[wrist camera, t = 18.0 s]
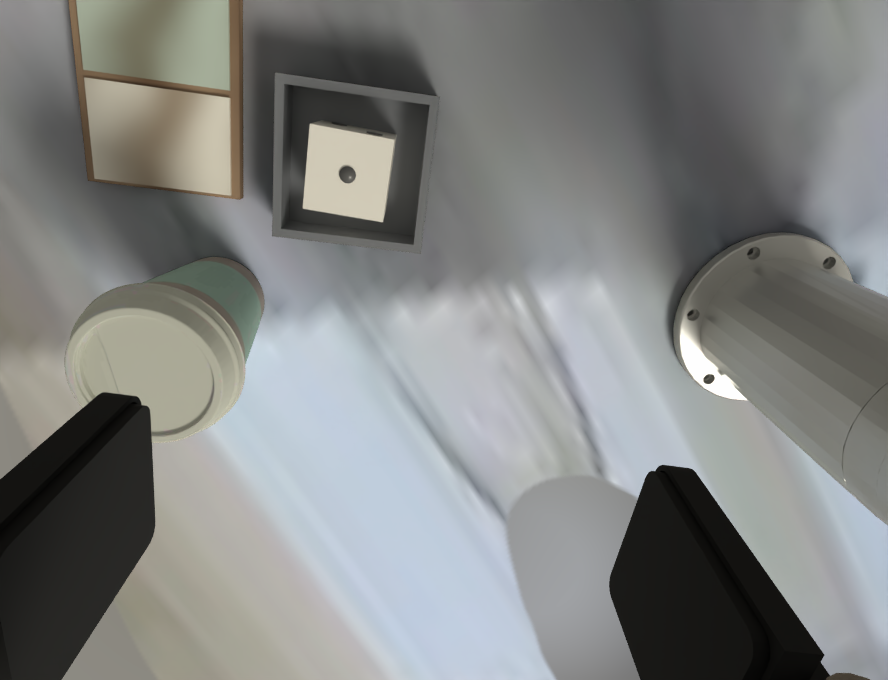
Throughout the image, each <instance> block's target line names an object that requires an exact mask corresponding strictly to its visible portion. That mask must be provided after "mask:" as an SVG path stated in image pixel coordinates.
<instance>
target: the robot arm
mask: <svg viewBox="0 0 888 680" xmlns="http://www.w3.org/2000/svg"><path fill="white" fill-rule="evenodd" d="M748 251H749V252H748ZM690 310H691V311H690ZM689 311H690V312H689ZM688 312H689V313H688ZM673 334H674V346H675V350H676V354H677V357H678V359H679V361H680V363H681V365H682V367H683V368H684V370H685V371H686V372H687V373H688V374H689V375H690V377H691V378H692V379H693V380H694V381H695V382H696V383H697V384H698V385H699V386H701V387H702V388H703V389H705V390H707V391H709V392H711V393H713V394H714V395H717V396H720V397H724V398H727V399H734V400H748V401H749V402H751V403H752V404H753V405H754V406H755V407H756V408H757V409H758V410H759V411H760V412H762V413H763V414H764V415H765V416H766V417H767V418H768V419H769V420H770V421H771V422H772V423H774V424H775V425H776V426H777V427H778V428H779V429H780V430H781V431H782V432H783V433H785V434H786V435H787V436H788V437H789V438H790V439H791V440H792V441H793V442H794V443H795V444H797V445H798V446H799V447H800V448H801V449H802V450H803V451H804V452H805V453H806V454H808V455H809V456H810V457H811V458H812V459H813V460H814V461H815V462H816V463H817V464H818V465H820V466H821V467H822V468H823V469H824V470H825V471H826V472H827V473H828V474H829V475H830V476H832V477H833V478H834V479H835V480H836V481H837V482H838V483H839V484H840V485H842V486H843V487H844V488H845V489H846V490H847V491H848V492H849V493H851V494H852V495H853V496H854V497H855V498H856V499H857V500H858V501H859V502H861V503H862V504H863V505H864V506H865V507H866V508H867V509H868V510H869V511H871V512H872V513H873V514H874V515H875V516H876V517H878V518H879V519H880V520H882V521H883V522H884V523H885V524H887V525H888V297H887V296H885V295H882V294H880V293H877V292H875V291H873V290H870V289H868V288H866V287H863V286H861V285H859V284H856V283H854V282H853V279H852V276H851V273H850V271H849V268H848V267H847V265H846V264H845V262H844V261H843V259H842V258H841V256H840V255H838V254H837V253H836V252H835V251H834V250H833V249H832V248H830V247H829V246H827V245H825V244H823V243H821V242H819V241H817V240H816V239H813V238H810V237H806V236H803V235H800V234H793V233H786V232H780V233H766V234H762V235H758V236H754V237H750V238H747V239H745V240H743V241H741V242H738V243H736V244H734V245H732V246H730V247H729V248H727V249H725V250H724V251H722V252H721V253H719V254H718V255H716V256H715V257H714V258H713V259H712V260H710V261H709V262H708V263H707V264H706V265H705V266H704V267H703V268H702V269H701V270H700V271H699V272H698V274H697V275H696V276H695V277H694V278H693V280H692V281H691V282H690V284H689V286H688V287H687V289H686V291H685V292H684V294H683V296H682V298H681V301H680V303H679V306H678V309H677V311H676V315H675V321H674V327H673ZM154 529H155V505H154V482H153V459H152V436H151V414H150V409H149V407H148V406H145V405H142V404H141V401H140V399H139V398H138V397H137V396H131V395H124V394H116V393H108V392H102V393H100V394H99V395H97V396H96V397H95V398H94V399H93V400H92V401H90V402H89V403H88V404H87V405H86V406H85V407H83V408H82V409H81V410H80V411H79V412H78V413H77V414H75V415H74V416H73V417H72V418H71V419H70V420H68V421H67V422H66V423H65V424H64V425H63V426H62V427H60V428H59V429H58V430H57V431H56V432H55V433H53V434H52V435H51V436H50V437H49V438H48V439H47V440H45V441H44V442H43V443H42V444H41V445H40V446H38V447H37V448H36V449H35V450H34V451H33V452H31V453H30V454H29V455H28V456H27V457H26V458H25V459H24V460H22V461H21V462H20V463H19V464H18V465H17V466H15V467H14V468H13V469H12V470H11V471H10V472H8V473H7V474H6V475H5V476H4V477H3V478H1V479H0V680H61V679H62V678H63V677H64V675H65V673H66V672H67V670H68V669H69V667H70V666H71V664H72V663H73V661H74V659H75V658H76V656H77V655H78V654H79V652H80V650H81V649H82V647H83V646H84V644H85V643H86V641H87V640H88V638H89V637H90V635H91V633H92V632H93V630H94V629H95V627H96V626H97V624H98V623H99V621H100V619H101V618H102V616H103V615H104V613H105V612H106V610H107V609H108V607H109V606H110V604H111V603H112V601H113V600H114V598H115V596H116V595H117V593H118V592H119V590H120V589H121V587H122V586H123V584H124V583H125V581H126V579H127V578H128V576H129V575H130V573H131V572H132V570H133V569H134V567H135V566H136V564H137V562H138V561H139V559H140V558H141V556H142V555H143V553H144V552H145V550H146V549H147V547H148V545H149V544H150V542H151V539H152V537H153V534H154ZM609 587H610V594H611V598H612V600H613V603H614V606H615V609H616V612H617V615H618V618H619V621H620V623H621V626H622V629H623V632H624V635H625V637H626V640H627V643H628V645H629V648H630V651H631V654H632V657H633V659H634V663H635V665H636V668H637V671H638V674H639V676H640V679H641V680H870V679H868V678H865V677H861V676H858V675H855V674H851V673H835V674H833V675H831V676H830V675H829V674H828V672H827V671H826V669H825V668H824V666H823V665H822V664H821V660H822V658H823V657H824V654H823V652H822V651H821V649H820V648H819V647H818V645H817V644H816V642H815V641H814V640H813V638H812V637H811V635H810V634H809V632H808V631H807V630H806V628H805V627H804V625H803V624H802V623H801V621H800V620H799V618H798V617H797V615H796V614H795V613H794V611H793V610H792V608H791V607H790V606H789V604H788V603H787V601H786V600H785V598H784V597H783V596H782V594H781V593H780V591H779V590H778V589H777V587H776V586H775V584H774V583H773V581H772V580H771V579H770V577H769V576H768V574H767V573H766V572H765V570H764V569H763V567H762V566H761V564H760V563H759V562H758V560H757V559H756V557H755V556H754V554H753V553H752V552H751V550H750V549H749V547H748V546H747V545H746V543H745V542H744V540H743V539H742V537H741V536H740V535H739V533H738V532H737V530H736V529H735V528H734V526H733V525H732V523H731V522H730V520H729V519H728V518H727V516H726V515H725V513H724V512H723V511H722V509H721V508H720V506H719V505H718V503H717V502H716V501H715V499H714V498H713V496H712V495H711V494H710V492H709V491H708V489H707V488H706V486H705V485H704V484H703V482H702V481H701V479H700V478H699V476H698V475H697V474H696V472H695V471H694V470H693V469H690V468H683V467H675V466H667V465H661V466H659V467H658V468H657V469H656V471H651V472H649V473H648V474H647V476H646V478H645V481H644V484H643V487H642V489H641V492H640V495H639V498H638V500H637V503H636V506H635V509H634V512H633V515H632V517H631V520H630V523H629V526H628V528H627V531H626V534H625V537H624V539H623V542H622V545H621V548H620V550H619V553H618V556H617V559H616V561H615V564H614V567H613V570H612V573H611V576H610V582H609Z"/></svg>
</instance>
